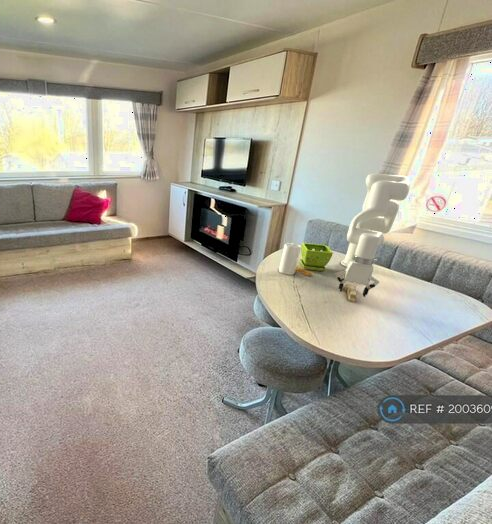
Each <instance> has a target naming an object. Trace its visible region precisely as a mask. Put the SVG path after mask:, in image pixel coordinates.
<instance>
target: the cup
mask: <svg viewBox="0 0 492 524" xmlns="http://www.w3.org/2000/svg"><path fill="white" fill-rule="evenodd" d="M301 247H302V245H300V244H298V243H294V242H285V243H284V246H283V251H282V254H281V258H280V264H279V267H278V271H279V273H281V274H284V275H290V276H292V275H295V274H296V273H295V272H296V271H295V269H296V266H297V265H298V261H299V257H300V253H301Z"/></svg>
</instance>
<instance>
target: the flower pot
mask: <svg viewBox="0 0 492 524" xmlns="http://www.w3.org/2000/svg"><path fill="white" fill-rule="evenodd" d="M300 253H301V255H300V256H301V258H299V261H300V263H301V266H302V267H303V268H302V269H305V270H308V271H310V270H311V271H318V272H325V271H326V270H327V268H326V266H327V265H328V264H329V262H330V260H331V259H332V258H333V257H332V256H333V251H332V250H331V248H330V247H329V246H328V245H326V244H318V243H309V242H301V249H300Z"/></svg>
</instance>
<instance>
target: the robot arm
mask: <svg viewBox="0 0 492 524" xmlns="http://www.w3.org/2000/svg"><path fill="white" fill-rule="evenodd" d="M365 185H366V190H367V192H366V195H365V198H364V201H363V204H362V208H361V211H360V212H358V213H357V214H356V215H355V216H354V217H353V218H352V220H351V221H350V224H349V227H348V230H347V234H346V240H347V242H348V243H349V244H348V247H347V251H346V254H345V257H344V259H343V260H341V261H340V264H341V265H342V266H344V267H346V268H345V270H343V271H338V272H336V273H335V276H336V279H337V281H338V282H339V285H338V290H339V292H340V293H341V292H343V290H344V287H345V283H346V282H348V283H352V284H353V283H354V284H357V285H362V286H365V287H364V288H363V290H362V291H363V292H362V297H363V298H366V296H368V295H369V292H370V290H371V289H373V288H375V287H376V286H377V285H379V284H380V281H379V280H378V279H376V278H375V277H374V276H372V275H373V272H374V263H375V264H376V263H377V262H378V259H375V257H376V254H377V251H378V247H379V246H381V245H382V244H383V242H384V240H385V236H384V234H385V235H386V234H388V233H389V232H390V231H391V229H392V227H393V224H394V222H395V219H396V217H397V215H398V212H399V209H400V203H399V202H398V201H405V199H406V198H407V197H408V195H409V192H410V179H409V177H408V176H405V175H397V174H386V173H385V174H384V173H370V174H368V175H367V176H366V178H365ZM341 276H343V277H342V278H341ZM371 281H372V283H371Z"/></svg>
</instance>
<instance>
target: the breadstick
mask: <svg viewBox="0 0 492 524" xmlns="http://www.w3.org/2000/svg"><path fill="white" fill-rule="evenodd" d="M295 272H296V273H297V272H298V273H300V274H302V275H304V276H308V277H311V276H312V275H313V271H310V270H308V269H304V268H302V267H299V266H297V265H296V269H295Z"/></svg>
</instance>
